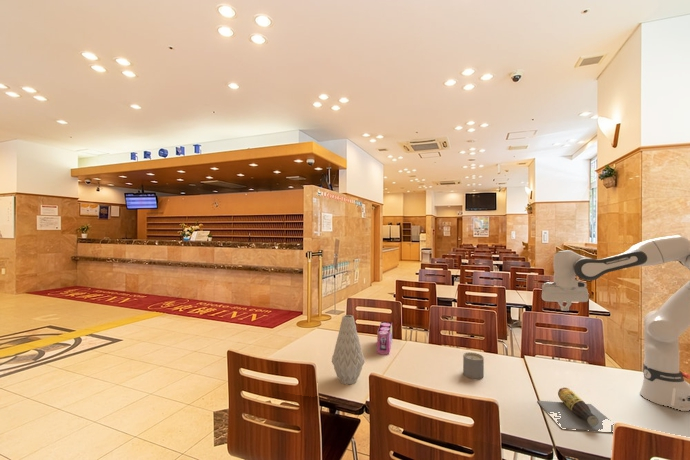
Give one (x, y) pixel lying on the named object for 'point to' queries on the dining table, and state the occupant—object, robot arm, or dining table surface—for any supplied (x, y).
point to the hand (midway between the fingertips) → (564, 310)
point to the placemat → (573, 416)
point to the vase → (348, 352)
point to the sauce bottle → (577, 406)
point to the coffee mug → (473, 365)
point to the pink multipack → (384, 338)
